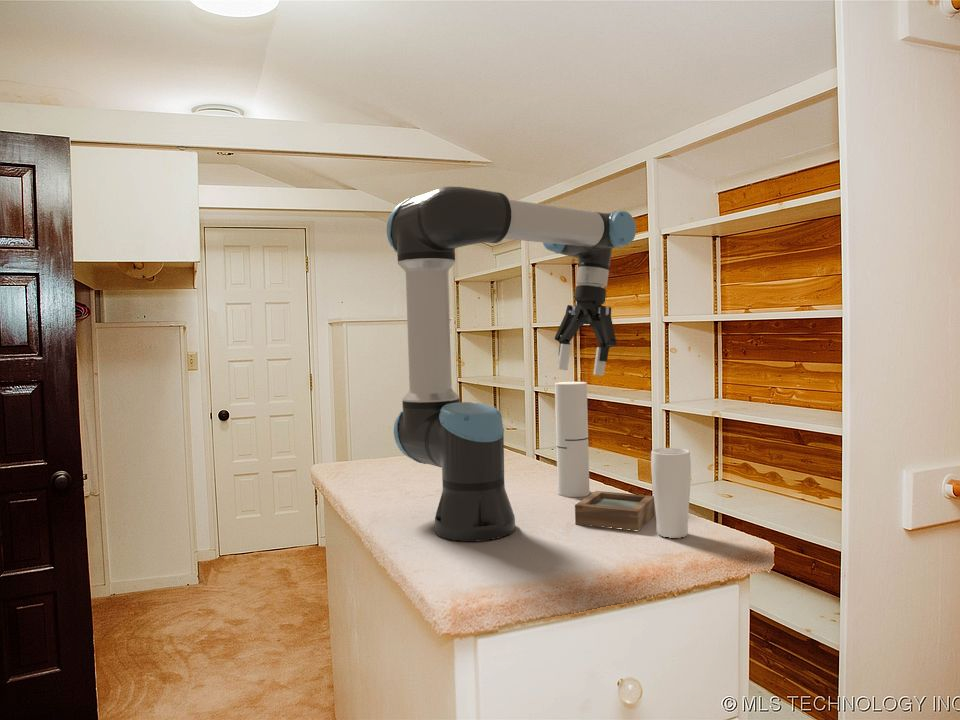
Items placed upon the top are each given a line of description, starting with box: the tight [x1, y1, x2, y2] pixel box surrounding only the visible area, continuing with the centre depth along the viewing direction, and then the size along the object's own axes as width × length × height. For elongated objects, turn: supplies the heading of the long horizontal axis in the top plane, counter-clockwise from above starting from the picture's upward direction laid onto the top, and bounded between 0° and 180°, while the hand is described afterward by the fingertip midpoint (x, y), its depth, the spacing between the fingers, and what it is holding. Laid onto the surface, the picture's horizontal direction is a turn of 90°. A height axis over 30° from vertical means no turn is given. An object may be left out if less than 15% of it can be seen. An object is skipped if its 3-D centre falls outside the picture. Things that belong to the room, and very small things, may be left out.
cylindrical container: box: [554, 381, 591, 498], centre depth 149 cm, size 7×7×25 cm
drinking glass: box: [650, 447, 692, 539], centre depth 117 cm, size 7×7×15 cm
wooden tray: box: [574, 490, 656, 531], centre depth 128 cm, size 12×12×4 cm
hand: (579, 372), depth 163 cm, fingers open, 13 cm apart
